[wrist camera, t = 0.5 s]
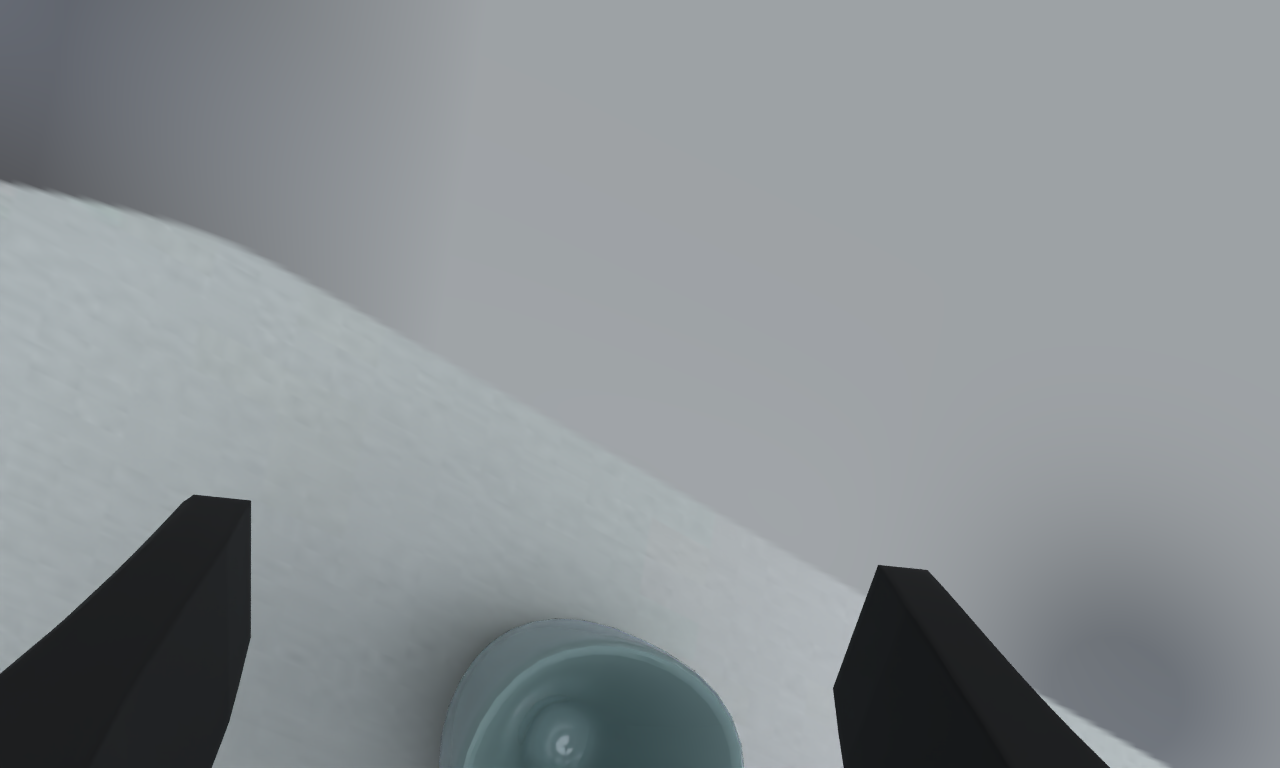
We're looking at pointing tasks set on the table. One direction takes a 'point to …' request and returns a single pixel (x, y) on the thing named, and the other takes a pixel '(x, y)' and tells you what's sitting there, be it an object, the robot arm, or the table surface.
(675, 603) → the table surface
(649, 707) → the cup
